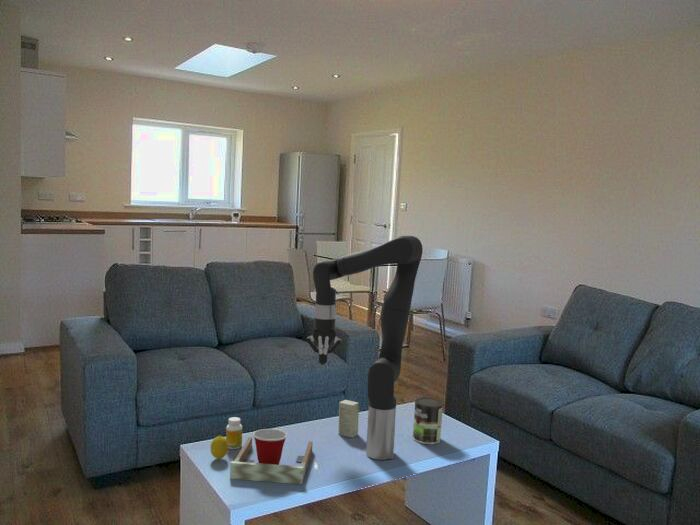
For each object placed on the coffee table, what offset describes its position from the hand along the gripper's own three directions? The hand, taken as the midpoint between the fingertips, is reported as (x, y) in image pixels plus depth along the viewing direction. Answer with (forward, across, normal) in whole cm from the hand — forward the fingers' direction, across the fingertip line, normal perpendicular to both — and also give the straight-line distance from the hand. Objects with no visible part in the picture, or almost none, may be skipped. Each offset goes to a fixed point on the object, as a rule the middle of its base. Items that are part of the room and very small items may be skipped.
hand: (322, 364), depth 216 cm
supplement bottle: (+27, -28, -14) cm, 41 cm away
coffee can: (+27, +39, +5) cm, 48 cm away
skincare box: (+27, +10, +4) cm, 29 cm away
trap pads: (+27, -12, -23) cm, 38 cm away
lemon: (+27, -30, -25) cm, 48 cm away
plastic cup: (+27, -13, -30) cm, 42 cm away
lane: (+27, -12, -25) cm, 39 cm away
